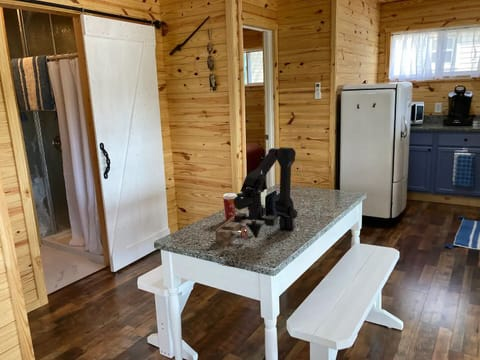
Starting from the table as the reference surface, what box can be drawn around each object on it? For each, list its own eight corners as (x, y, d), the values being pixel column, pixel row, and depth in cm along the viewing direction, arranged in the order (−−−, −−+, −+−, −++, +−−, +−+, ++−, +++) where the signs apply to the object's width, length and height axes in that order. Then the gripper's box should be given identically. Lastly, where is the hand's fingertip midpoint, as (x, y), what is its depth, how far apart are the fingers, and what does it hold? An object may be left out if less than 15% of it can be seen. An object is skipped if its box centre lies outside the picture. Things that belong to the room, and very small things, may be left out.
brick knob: (248, 237, 178) (248, 228, 177) (245, 240, 175) (244, 231, 174) (232, 235, 181) (232, 227, 181) (228, 238, 178) (228, 230, 177)
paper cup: (233, 223, 203) (231, 197, 200) (221, 221, 207) (219, 195, 204) (241, 218, 209) (240, 193, 206) (229, 217, 213) (227, 192, 210)
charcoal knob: (256, 229, 187) (256, 221, 186) (253, 232, 184) (253, 224, 183) (241, 227, 190) (240, 219, 189) (237, 230, 187) (237, 222, 186)
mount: (245, 229, 193) (245, 217, 192) (228, 245, 175) (227, 231, 174) (234, 228, 195) (234, 216, 194) (216, 243, 178) (215, 230, 176)
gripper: (281, 200, 174) (282, 233, 178) (242, 197, 182) (244, 229, 185) (272, 207, 164) (274, 242, 168) (232, 204, 172) (234, 237, 175)
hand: (256, 237), depth 174 cm, fingers closed
